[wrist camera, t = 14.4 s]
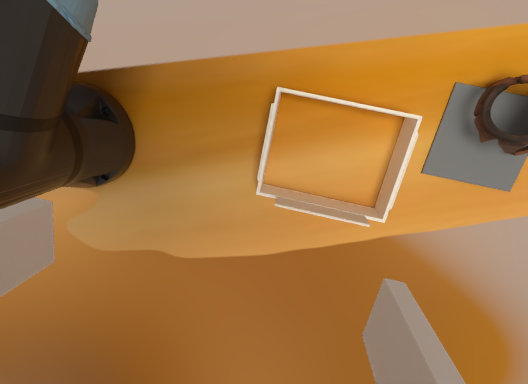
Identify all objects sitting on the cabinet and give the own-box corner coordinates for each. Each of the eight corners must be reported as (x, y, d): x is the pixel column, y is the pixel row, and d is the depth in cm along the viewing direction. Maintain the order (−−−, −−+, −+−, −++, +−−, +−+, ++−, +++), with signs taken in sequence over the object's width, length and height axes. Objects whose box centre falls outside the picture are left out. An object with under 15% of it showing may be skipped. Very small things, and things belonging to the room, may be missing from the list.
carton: (258, 185, 43) (250, 200, 36) (277, 88, 39) (272, 84, 32) (377, 211, 42) (394, 232, 35) (411, 115, 38) (437, 118, 31)
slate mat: (421, 172, 40) (422, 173, 40) (455, 82, 36) (456, 82, 36) (508, 191, 40) (509, 191, 39) (552, 101, 36) (554, 101, 36)
